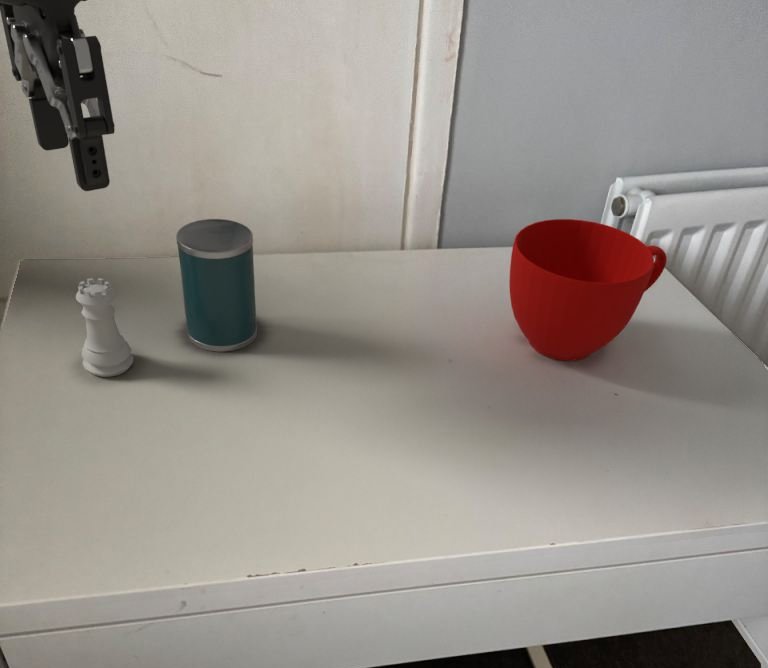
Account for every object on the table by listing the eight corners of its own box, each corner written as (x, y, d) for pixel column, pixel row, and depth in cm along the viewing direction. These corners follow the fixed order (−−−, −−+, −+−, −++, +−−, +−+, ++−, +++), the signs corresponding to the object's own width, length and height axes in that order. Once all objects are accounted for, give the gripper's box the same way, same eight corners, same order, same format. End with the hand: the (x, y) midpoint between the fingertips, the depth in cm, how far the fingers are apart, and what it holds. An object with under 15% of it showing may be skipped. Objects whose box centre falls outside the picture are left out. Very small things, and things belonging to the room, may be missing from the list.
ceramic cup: (683, 357, 83) (717, 264, 76) (542, 391, 77) (565, 293, 70) (606, 295, 92) (630, 206, 85) (473, 321, 86) (488, 228, 79)
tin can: (174, 342, 79) (162, 243, 72) (206, 309, 84) (197, 213, 77) (239, 358, 78) (233, 258, 71) (268, 323, 83) (264, 227, 76)
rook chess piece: (82, 354, 77) (64, 274, 71) (132, 349, 78) (118, 270, 72) (84, 381, 74) (66, 300, 68) (136, 375, 75) (123, 295, 69)
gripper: (-68, -109, 55) (-5, 143, 66) (-3, -67, 47) (57, 212, 58) (46, -111, 58) (87, 129, 70) (125, -72, 50) (158, 193, 61)
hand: (73, 167), depth 64 cm, fingers open, 8 cm apart
